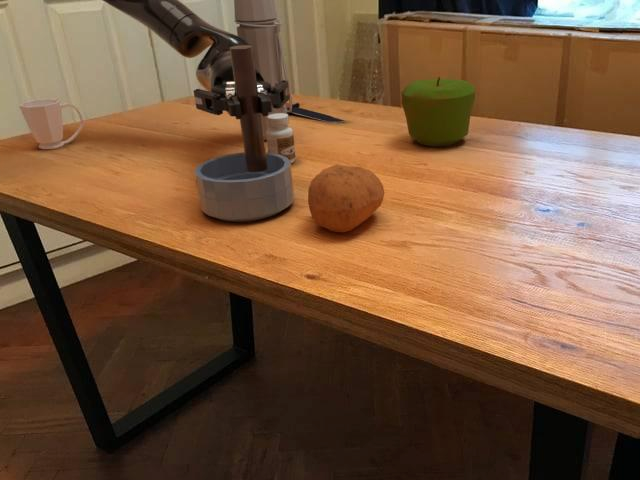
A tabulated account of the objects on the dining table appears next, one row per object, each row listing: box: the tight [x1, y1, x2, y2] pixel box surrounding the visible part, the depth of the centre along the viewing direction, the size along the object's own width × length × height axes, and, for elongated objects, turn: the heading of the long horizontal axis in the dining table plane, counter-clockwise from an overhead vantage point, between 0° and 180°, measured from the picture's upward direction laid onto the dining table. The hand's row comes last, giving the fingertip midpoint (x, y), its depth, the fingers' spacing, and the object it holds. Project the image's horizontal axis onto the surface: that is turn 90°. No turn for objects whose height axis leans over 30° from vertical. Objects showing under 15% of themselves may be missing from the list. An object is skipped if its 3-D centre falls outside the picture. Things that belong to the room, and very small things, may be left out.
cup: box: [18, 97, 84, 150], centre depth 123 cm, size 7×10×8 cm
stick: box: [230, 45, 268, 172], centre depth 87 cm, size 3×3×16 cm
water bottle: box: [233, 0, 293, 141], centre depth 118 cm, size 9×8×25 cm
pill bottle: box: [266, 113, 297, 165], centre depth 108 cm, size 4×4×8 cm
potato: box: [307, 164, 385, 233], centre depth 85 cm, size 9×11×8 cm
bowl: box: [193, 151, 295, 223], centre depth 91 cm, size 13×13×6 cm
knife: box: [286, 102, 346, 123], centre depth 138 cm, size 26×3×5 cm
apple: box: [400, 76, 476, 148], centre depth 115 cm, size 12×12×11 cm
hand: (252, 109), depth 84 cm, fingers closed on stick, 3 cm apart
